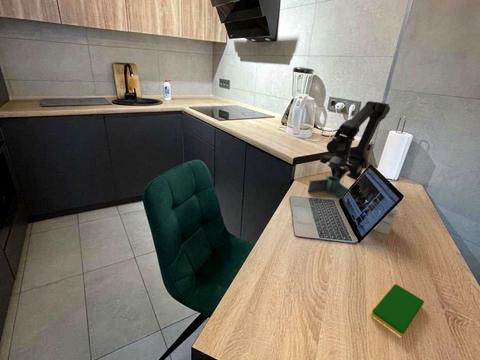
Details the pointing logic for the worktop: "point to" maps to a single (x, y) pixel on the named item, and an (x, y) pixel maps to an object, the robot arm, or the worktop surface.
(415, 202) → the worktop surface
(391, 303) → the dish sponge
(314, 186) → the hinge
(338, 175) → the hinge pin
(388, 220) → the light bulb box
